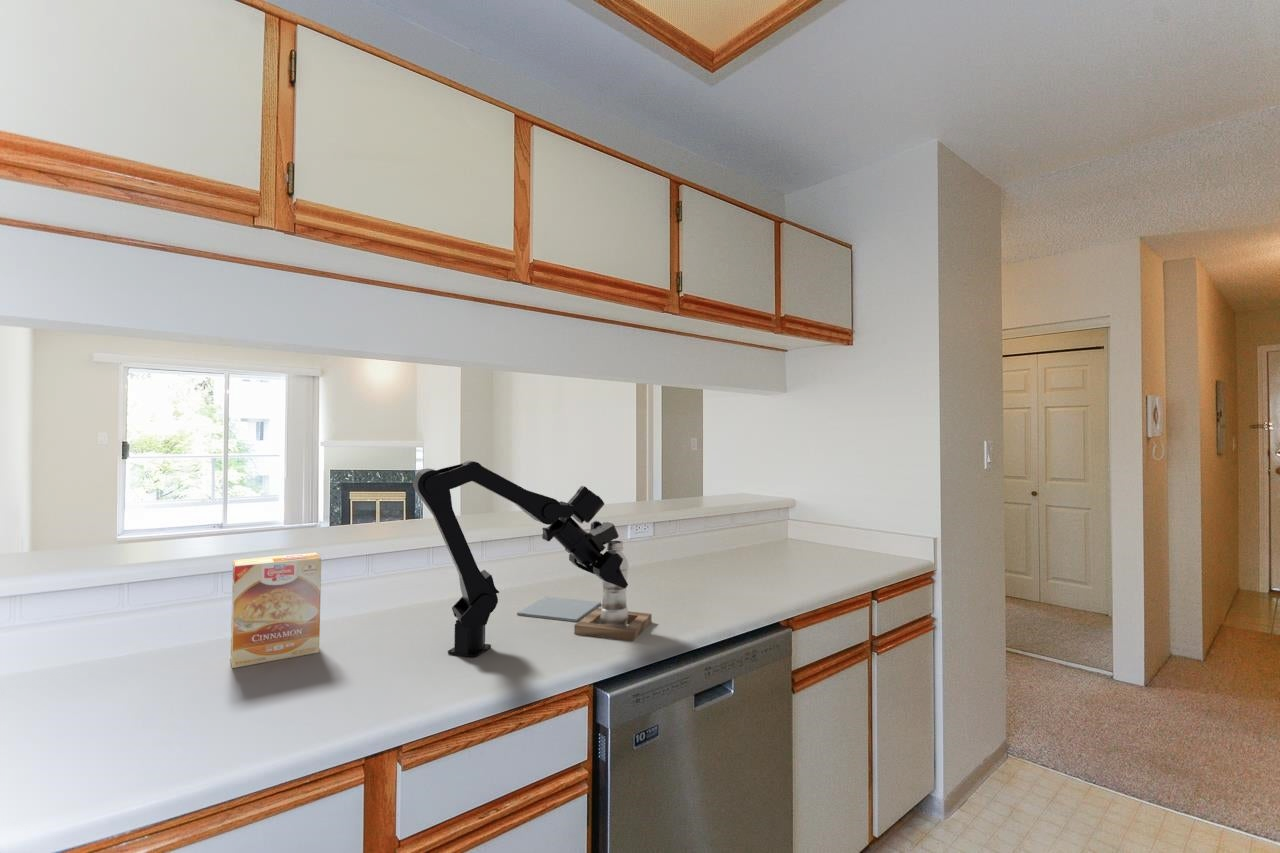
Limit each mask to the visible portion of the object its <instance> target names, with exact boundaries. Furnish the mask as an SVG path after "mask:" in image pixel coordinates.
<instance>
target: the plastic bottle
mask: <svg viewBox="0 0 1280 853" xmlns="http://www.w3.org/2000/svg"><path fill="white" fill-rule="evenodd" d="M606 546H607V547H606V551H613V552H616V553H618V554H619V555H620V556H621V557H622V558H623V561H622V564H621V565H620V570H621V572H622V574H623V576H624V578H625V580H626V581H627V579H628V573H629V562H628V559H627V557H626V556H625V554H624V553H623V551H624V541H622V540H612V541H610V542H608V543H607V544H606ZM602 588H603V589H602V592H603V593H602V601H601V603H602V604H601V606H602V607H601V608H602V609H601V615H600V618H601V622H600V624H604V625H612V626H621V627H627V624H628V623H627V622H628V611H629V610H628V606H627V593H626V592H627V587H626V588H622V587H620V586H617V585H614V584H612V583H609V582H606V581H603V580H602Z"/></svg>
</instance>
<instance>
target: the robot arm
mask: <svg viewBox="0 0 1280 853" xmlns="http://www.w3.org/2000/svg"><path fill="white" fill-rule="evenodd" d="M471 482H473V484H477V485H478V486H480V487H483V488H485V489H486V490H488V491H490V492H492V493H494V494H496V495H498V496H499V497H502V498H504V499H505V500H507V501H509V502H511V503H513V504H515V505H516V506H517V507H518V508H519V509H520V510H521V511H523V512H524V513H525V514H526V515H528V517H530V518H532V519H533V520H534V521H536V522H539V523H542V524H543V525H547V527H542V528H541V530H542V536H541V538H542V540H544V541H546V542H550V541H551V540H552V539H553V538H554V539H555V540H557V542H559V544H560V545H562V547H563V548H564V550H565V551H566V552H567V553H568V560H569V561H570V563H572V564H573V566H575V567H577V568H578V569H581V570H583V571H585V572H587V573H590V574H592V575H595V576H597V577H598V579H600V580H601V581H602V582H603V581H606V582H609V583H612V584H614V585H617V586H620V587H622V588H626V589H627V588H628V586H629V584H628V582H627V580H625V578H624V576H623V574H622V572H621V570H620V565H621V564H622V561H623V558H622V557H621V556H620V555H619V554H618V553H616V552H613V551H608V550H606V551H605V552H604V553H602V552H603V551H604V550H605V549H607V547H606V546H605V545H607V543H608V542H610V541H614V540H617V539H618V538H619V536H620V534H619V533H618V531H617V529H616V526H615V524H614V523H612V522H609V521H607V522H605V521H603V522H600V521H599V520H594V521H592V519H594V518H595V516H596V515H597V514H598V513H599V512H600V510H601V509H602V508H603V507H604V506H605V502H604V501H603V499H602V498H601V497H600V496H599V495H597V494H596V493H594V492H593V491H592V490H590V489H589V488H588V487H587V486H585V485H581V486H580V487H578V489H577V490H576V492H575V494H574V495H573V496H572V497H571V498H570V499H569V500H568V502H565V501H562V500H561V501H559V500H557V499H556V498H553V497H549V496H547V495H544V494H540V493H537V492H533V491H530V490H527V489H526V488H523V487H522V486H520V485H518V484H516V483H514V482H513V481H511V480H508V479H507V478H505V477H503V476H501V475H499V474H497V473H496V472H493V471H492V470H490V469H488V468H487V467H485V466H483V465H482V464H481V463H479V462H477V461H473V460H467V461H464V462H462V463H459V464H455V465H451V466H447V467H443V468H439V469H437V470H436V469H434V468H423V469H421V470H419V471H418V472H417V473H416V474H415V475H414V478H413V479H412V486H413V489H414V491H415V492H416V493H417V495H418V497H419V498H420V500H421V501H422V502H423V503H424V505H425V506H426V507H427V509H428V510H429V512H430V513H431V514H432V516H433V519H434V520H435V522H436V525H437V527H438V530H439V533H440V534H441V537H442V539H443V542H444V544H445V546H446V548H447V550H448V553H449V556H450V557H451V560H452V561H453V564H454V566H455V569H456V571H457V573H458V574H457V575H458V577H459V579H458V580H459V586H460V591H461V595H462V596H461V597H460V598H459V600H458V601H456V603H454V605H453V606H452V607H451V610H452V614H453V615H454V617H455V618H456V619H457V620H456V621H455V623H454V644H453V645H454V647H452V648H450V649H449V650H447V654H448V655H449V654H450V655H456V656H462V657H463V656H465V657H470V658H475V657H478V656H479V655H481V654H482V653H484V652H486V651H487V650H490V648H491V647H492V644H489V643H486V625H487V624H488V621H489V618H490V616H491V613H493V612H494V610H495V609H496V607H497V605H498V603H499V599H498V594H500V591H499V590H498V589H497V588H496V586H495V583H494V578H493V575H492V574H490V573H489V572H488V571H487V570H485V569H483V570H482V571H481V570H480V569H479V567H478V565H477V562H476V560H475V558H474V555H473V553H472V551H471V549H470V546H469V545H468V541H467V539H466V536H465V535H464V534H465V533H464V532H463V530H462V527H461V525H460V523H459V521H458V518H457V517H456V513H455V512H454V509H453V503H452V502H453V501H452V493H451V490H452V489H456V488H458V487H460V486H463V485H465V484H467V483H471ZM575 520H576V521H575ZM591 521H592V522H591ZM577 522H578V523H579V524H578V523H577ZM590 522H591V523H590ZM583 523H587V524H589V523H590V529H589V531H588V532H587V531H586V530H584V529H583V528H582V527H581V526H580V524H583ZM548 525H549V526H548Z"/></svg>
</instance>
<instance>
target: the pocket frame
mask: <svg viewBox="0 0 1280 853" xmlns="http://www.w3.org/2000/svg"><path fill="white" fill-rule="evenodd" d="M601 609H602V607H601V608H600V607H596V608H595V609H594V610H592V611H591V612H589V613H588V614H587V615H585V616H584V617H583V618H581V619H580V620H578V621H577V622H575V624H574V629H573V630H574V635H581V636H590V637H596V638H597V637H598V638H605V639H614V640H623V641H631V642H634V641H635V640H636V639H637V638H638V637H639V636H640V634H642V632H644V631H645V630H646V628H648V626H650V625H651V624H652V618H653V616H652V613H649V612H648V613H646V612H638V611H629V610H628V622H627V624H628V625H626V626H625V627H621V626H612V625H604V624H601V618H600V615H601Z"/></svg>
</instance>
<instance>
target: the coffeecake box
mask: <svg viewBox="0 0 1280 853" xmlns="http://www.w3.org/2000/svg"><path fill="white" fill-rule="evenodd" d="M321 587H322V558H321V556H320V555H319V554H318V553H317V552H314V551H313V552H308V553H296V554H295V553H293V554H284V555H272V556H262V557H253V558H249V557H248V558H241V559H233V560H232V589H231V590H232V592H231V595H232V596H231V625H230V626H231V629H230V662H231V663H230V664H231V668H232V669H235V668H240V667H241V668H242V667H246V666H252V665H259V664H263V663H270V662H274V661H280V660H284V659H291V658H297V657H302V656H309V655H312V654H319V653H320V633H321V630H320V629H321V593H322V592H321V591H322V590H321V589H322V588H321Z"/></svg>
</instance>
